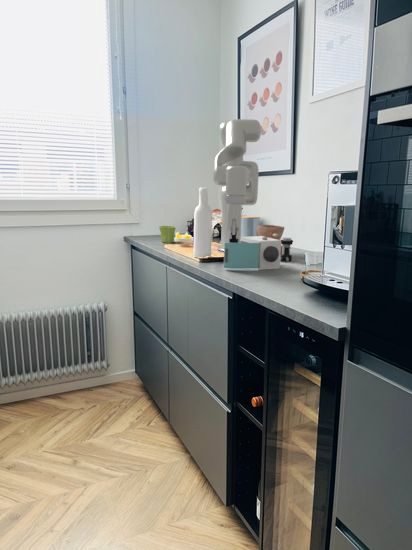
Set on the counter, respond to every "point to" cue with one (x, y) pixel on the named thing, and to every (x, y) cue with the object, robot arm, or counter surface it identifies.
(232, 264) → the side door
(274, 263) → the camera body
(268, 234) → the ceramic jug
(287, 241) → the push button
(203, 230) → the bottle
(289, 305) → the counter surface
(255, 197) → the robot arm
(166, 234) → the plant pot
